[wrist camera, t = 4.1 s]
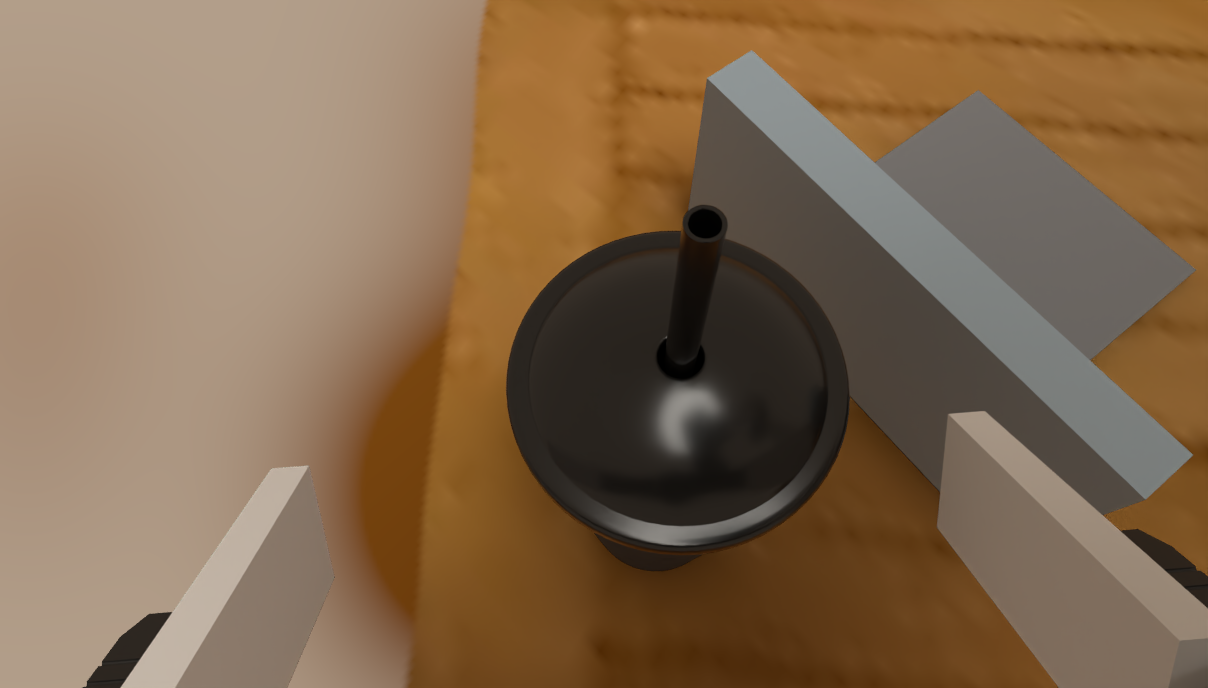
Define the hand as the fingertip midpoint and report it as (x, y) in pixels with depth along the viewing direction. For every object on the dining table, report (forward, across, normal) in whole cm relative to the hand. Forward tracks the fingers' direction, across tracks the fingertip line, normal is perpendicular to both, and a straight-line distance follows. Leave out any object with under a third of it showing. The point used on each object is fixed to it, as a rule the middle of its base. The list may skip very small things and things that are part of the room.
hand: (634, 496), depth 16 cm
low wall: (+15, +10, -4) cm, 19 cm away
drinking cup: (+12, +1, -8) cm, 14 cm away
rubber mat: (+18, +16, -1) cm, 25 cm away
